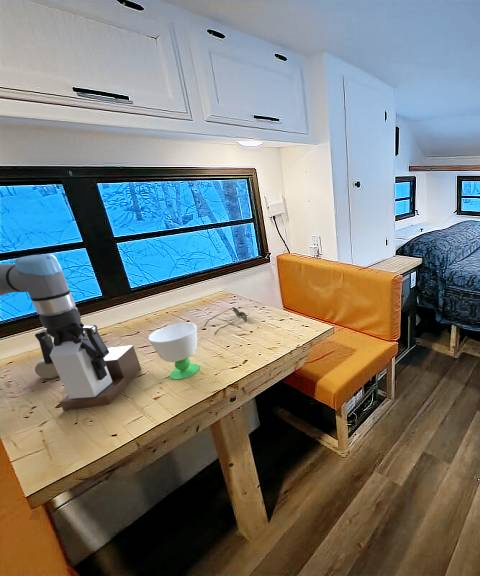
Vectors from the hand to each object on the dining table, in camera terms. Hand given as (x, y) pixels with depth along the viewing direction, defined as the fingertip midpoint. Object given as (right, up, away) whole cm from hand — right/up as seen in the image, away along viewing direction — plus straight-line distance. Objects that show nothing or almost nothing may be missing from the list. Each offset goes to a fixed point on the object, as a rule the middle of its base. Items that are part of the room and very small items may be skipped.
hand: (87, 379), depth 92 cm
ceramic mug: (-24, -2, +16) cm, 29 cm away
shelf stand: (-1, -5, +7) cm, 9 cm away
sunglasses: (+17, +10, +49) cm, 52 cm away
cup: (+20, -2, +15) cm, 25 cm away
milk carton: (0, -4, +1) cm, 4 cm away
